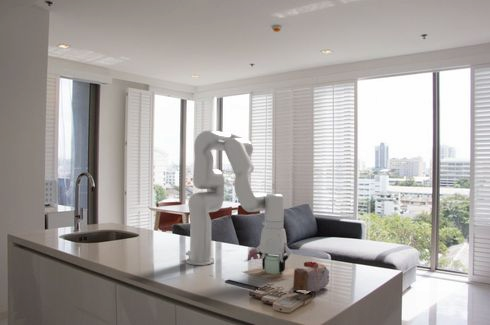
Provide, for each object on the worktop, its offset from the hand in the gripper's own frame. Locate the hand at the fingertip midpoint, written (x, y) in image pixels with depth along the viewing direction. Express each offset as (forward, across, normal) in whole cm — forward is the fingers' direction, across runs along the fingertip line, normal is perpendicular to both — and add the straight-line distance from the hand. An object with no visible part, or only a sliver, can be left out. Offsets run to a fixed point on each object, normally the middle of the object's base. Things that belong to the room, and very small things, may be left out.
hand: (273, 269), depth 157 cm
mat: (+2, -2, -15) cm, 16 cm away
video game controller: (+3, -18, +20) cm, 27 cm away
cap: (+1, 0, 0) cm, 1 cm away
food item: (+2, +20, -9) cm, 22 cm away
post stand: (+2, 0, 0) cm, 2 cm away
